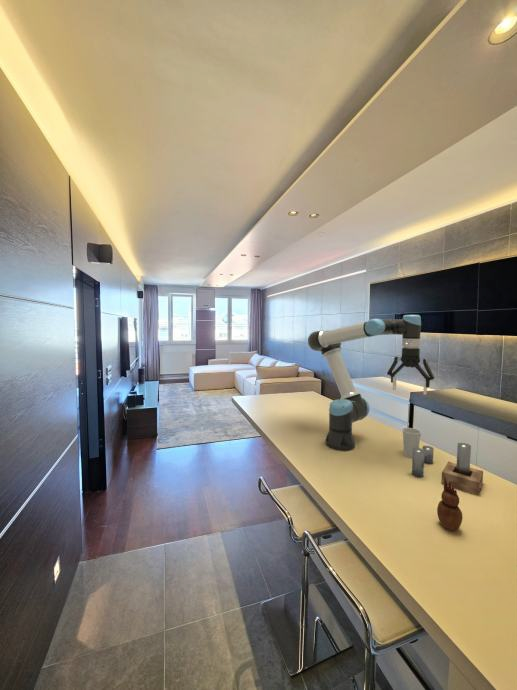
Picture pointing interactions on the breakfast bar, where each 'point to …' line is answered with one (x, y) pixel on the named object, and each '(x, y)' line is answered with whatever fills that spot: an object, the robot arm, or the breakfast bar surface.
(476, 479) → the hole block
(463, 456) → the long pin
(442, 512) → the wooden figurine
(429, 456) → the short pin
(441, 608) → the breakfast bar surface
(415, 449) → the medium pin
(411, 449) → the cup
